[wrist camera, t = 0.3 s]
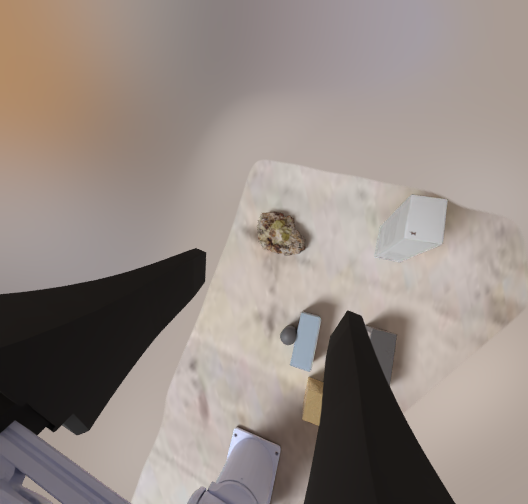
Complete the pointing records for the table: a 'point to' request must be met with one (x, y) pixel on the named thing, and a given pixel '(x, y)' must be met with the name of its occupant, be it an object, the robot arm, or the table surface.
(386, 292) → the table surface
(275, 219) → the mineral rock
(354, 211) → the table surface
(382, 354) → the grey block
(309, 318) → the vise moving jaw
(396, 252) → the skincare box
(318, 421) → the brass block
